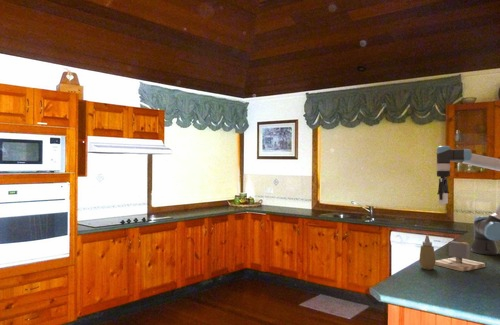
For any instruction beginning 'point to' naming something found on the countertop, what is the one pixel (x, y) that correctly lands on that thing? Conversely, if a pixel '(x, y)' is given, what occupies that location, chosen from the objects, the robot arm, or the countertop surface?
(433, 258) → the squeeze bottle
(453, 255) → the grey block
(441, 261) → the base
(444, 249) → the countertop surface
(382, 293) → the countertop surface
